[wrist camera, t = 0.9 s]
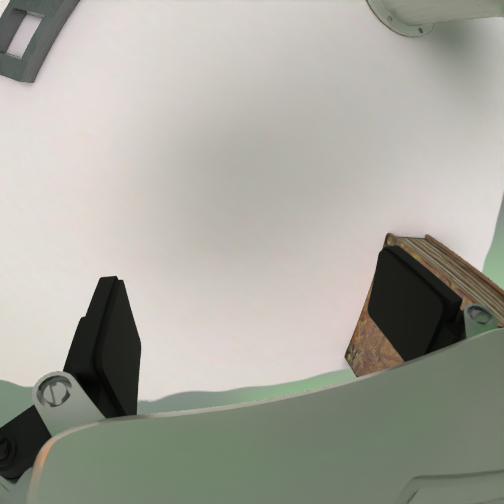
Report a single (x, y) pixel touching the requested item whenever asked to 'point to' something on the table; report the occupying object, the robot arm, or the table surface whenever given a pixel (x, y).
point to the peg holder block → (54, 16)
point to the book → (447, 270)
